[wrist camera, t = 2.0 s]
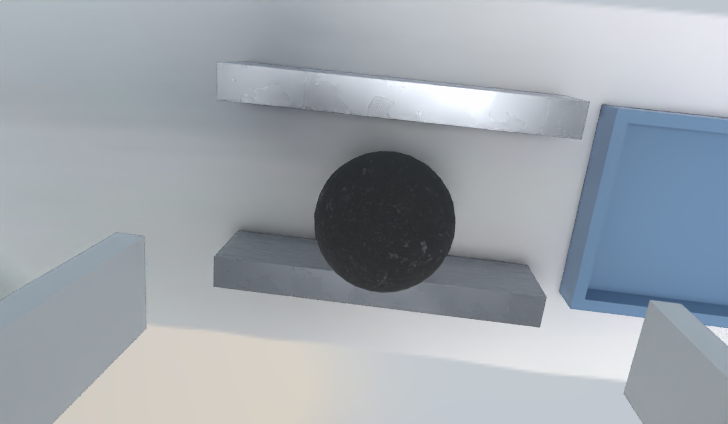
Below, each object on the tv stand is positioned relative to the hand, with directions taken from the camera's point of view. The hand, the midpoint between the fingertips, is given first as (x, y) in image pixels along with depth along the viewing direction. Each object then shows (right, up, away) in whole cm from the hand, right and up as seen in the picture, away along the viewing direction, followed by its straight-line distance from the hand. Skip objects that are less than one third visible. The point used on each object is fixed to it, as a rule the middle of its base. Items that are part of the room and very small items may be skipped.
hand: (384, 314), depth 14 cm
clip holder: (+1, +4, +14) cm, 15 cm away
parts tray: (+17, +2, +13) cm, 22 cm away
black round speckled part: (+1, +4, +14) cm, 15 cm away
